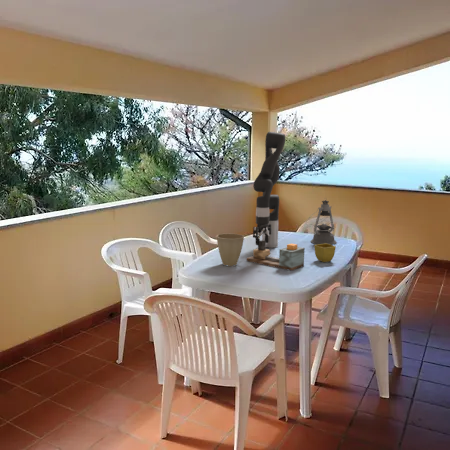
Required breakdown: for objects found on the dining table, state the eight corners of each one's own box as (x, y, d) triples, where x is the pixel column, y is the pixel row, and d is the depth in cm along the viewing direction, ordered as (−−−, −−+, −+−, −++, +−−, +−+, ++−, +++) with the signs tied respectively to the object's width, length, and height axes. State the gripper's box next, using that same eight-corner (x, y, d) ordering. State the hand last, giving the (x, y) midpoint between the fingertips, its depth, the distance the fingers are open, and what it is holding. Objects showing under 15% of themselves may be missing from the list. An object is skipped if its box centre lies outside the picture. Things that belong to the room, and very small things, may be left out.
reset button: (286, 250, 246) (287, 244, 245) (290, 248, 249) (291, 243, 248) (293, 251, 243) (293, 245, 243) (297, 250, 246) (297, 244, 246)
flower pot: (323, 263, 255) (323, 247, 253) (313, 260, 262) (313, 244, 261) (335, 262, 259) (336, 246, 257) (325, 258, 266) (326, 243, 265)
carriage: (253, 257, 260) (253, 241, 259) (259, 255, 265) (259, 239, 263) (263, 259, 256) (263, 242, 254) (269, 257, 260) (270, 241, 259)
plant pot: (238, 269, 243) (238, 239, 240) (212, 266, 248) (212, 237, 245) (247, 262, 257) (247, 234, 254) (222, 259, 262) (222, 232, 259)
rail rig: (246, 260, 260) (246, 243, 258) (259, 256, 269) (259, 240, 267) (291, 270, 241) (292, 252, 239) (303, 266, 250) (304, 248, 248)
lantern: (313, 237, 323) (315, 195, 318) (341, 241, 311) (343, 197, 306) (302, 242, 309) (303, 197, 303) (330, 246, 297) (332, 200, 292)
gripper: (264, 213, 264) (264, 241, 266) (249, 216, 253) (249, 244, 256) (275, 214, 259) (274, 242, 262) (260, 217, 248) (260, 246, 251)
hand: (262, 243), depth 259 cm, fingers open, 8 cm apart
